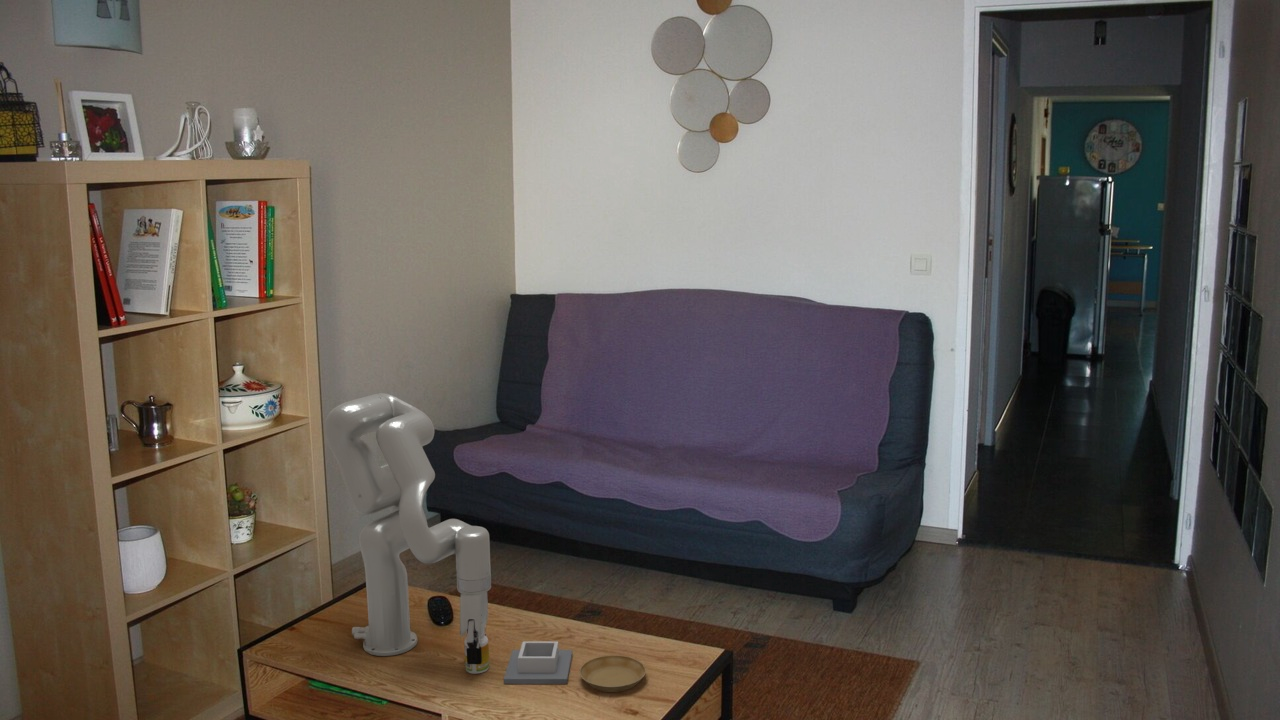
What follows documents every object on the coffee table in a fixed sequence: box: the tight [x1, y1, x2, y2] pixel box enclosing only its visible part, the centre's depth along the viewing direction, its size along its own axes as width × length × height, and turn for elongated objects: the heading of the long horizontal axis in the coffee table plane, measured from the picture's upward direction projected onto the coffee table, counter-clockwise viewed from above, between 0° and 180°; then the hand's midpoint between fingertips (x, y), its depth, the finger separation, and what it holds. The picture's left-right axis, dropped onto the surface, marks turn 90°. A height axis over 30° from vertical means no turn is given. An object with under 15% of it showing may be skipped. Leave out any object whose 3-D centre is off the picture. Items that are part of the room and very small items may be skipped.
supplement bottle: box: [463, 627, 490, 675], centre depth 233 cm, size 5×5×10 cm
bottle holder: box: [503, 640, 573, 685], centre depth 233 cm, size 14×14×5 cm
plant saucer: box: [578, 654, 647, 693], centre depth 228 cm, size 15×15×3 cm
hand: (476, 656), depth 233 cm, fingers closed on supplement bottle, 5 cm apart
